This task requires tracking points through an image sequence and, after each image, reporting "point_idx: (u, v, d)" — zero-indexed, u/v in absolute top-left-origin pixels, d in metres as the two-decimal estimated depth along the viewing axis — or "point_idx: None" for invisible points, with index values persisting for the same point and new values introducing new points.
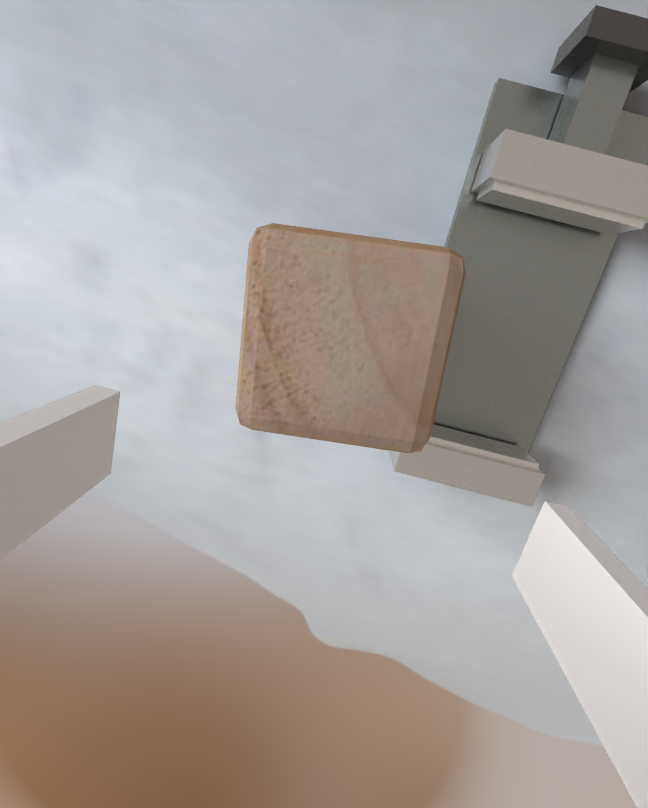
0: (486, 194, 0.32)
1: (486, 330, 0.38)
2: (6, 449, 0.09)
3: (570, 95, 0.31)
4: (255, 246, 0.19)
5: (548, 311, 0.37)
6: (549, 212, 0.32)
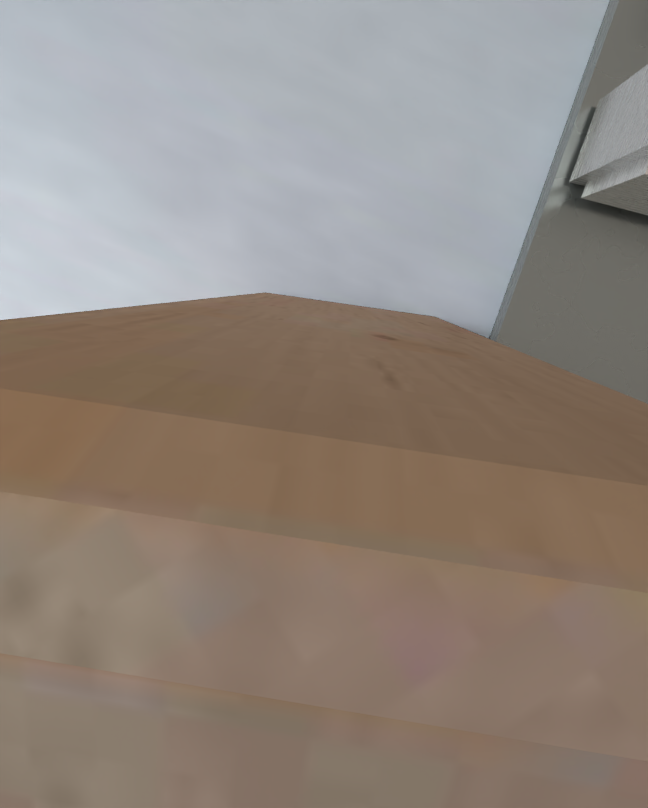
0: (617, 185, 0.15)
1: None
2: None
3: None
4: None
5: None
6: None
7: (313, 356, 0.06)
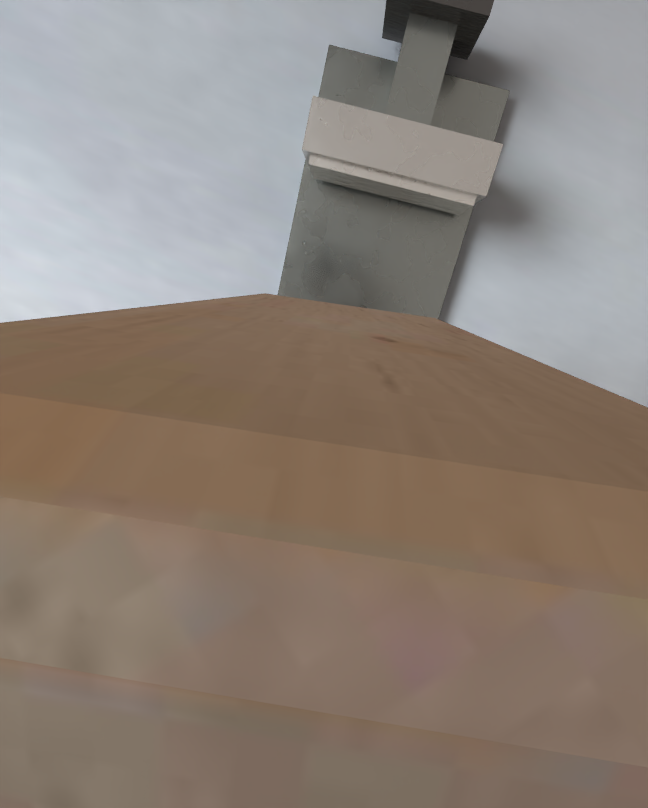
0: (312, 170, 0.29)
1: None
2: None
3: None
4: None
5: (404, 299, 0.34)
6: (383, 190, 0.30)
7: (312, 359, 0.06)
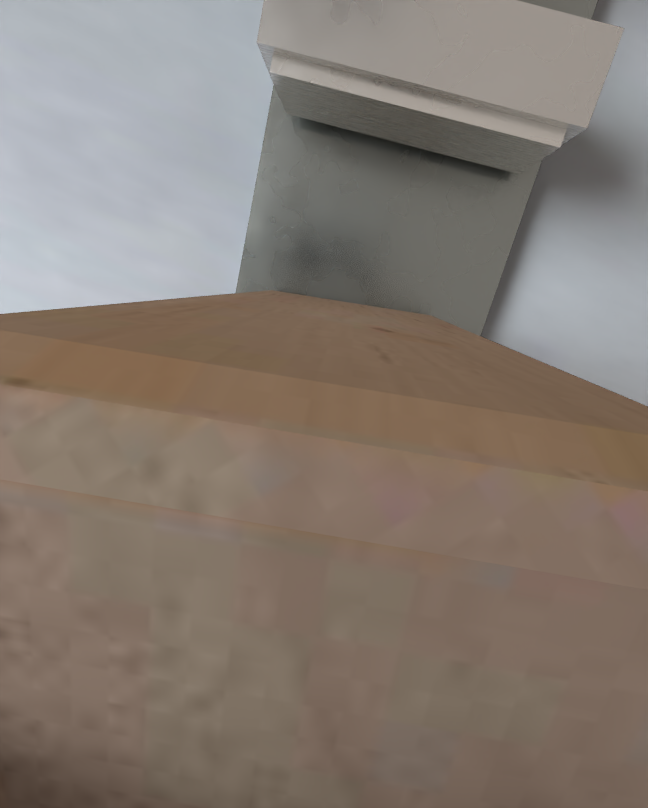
0: (280, 91, 0.17)
1: None
2: None
3: None
4: None
5: (427, 307, 0.22)
6: (399, 127, 0.18)
7: (324, 340, 0.07)
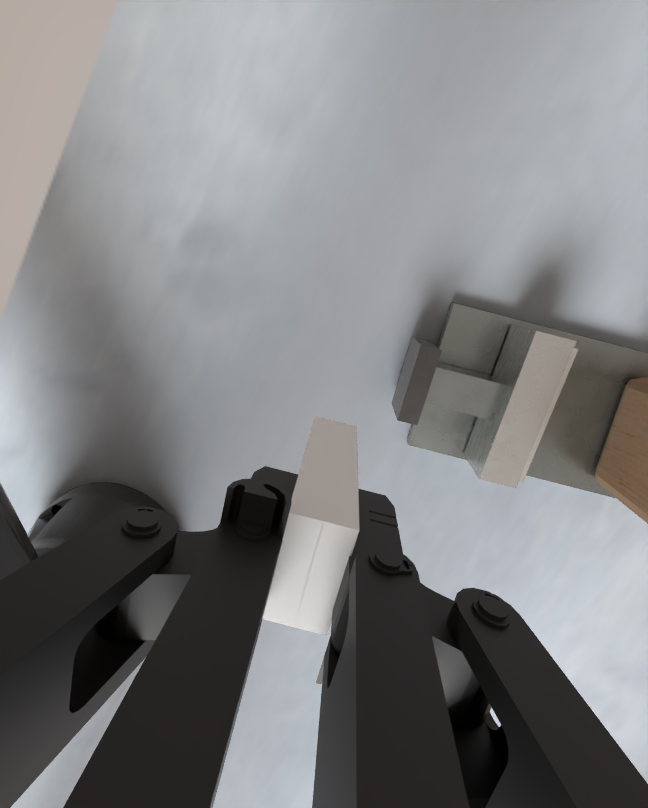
0: None
1: None
2: None
3: None
4: None
5: (616, 384, 0.37)
6: None
7: None
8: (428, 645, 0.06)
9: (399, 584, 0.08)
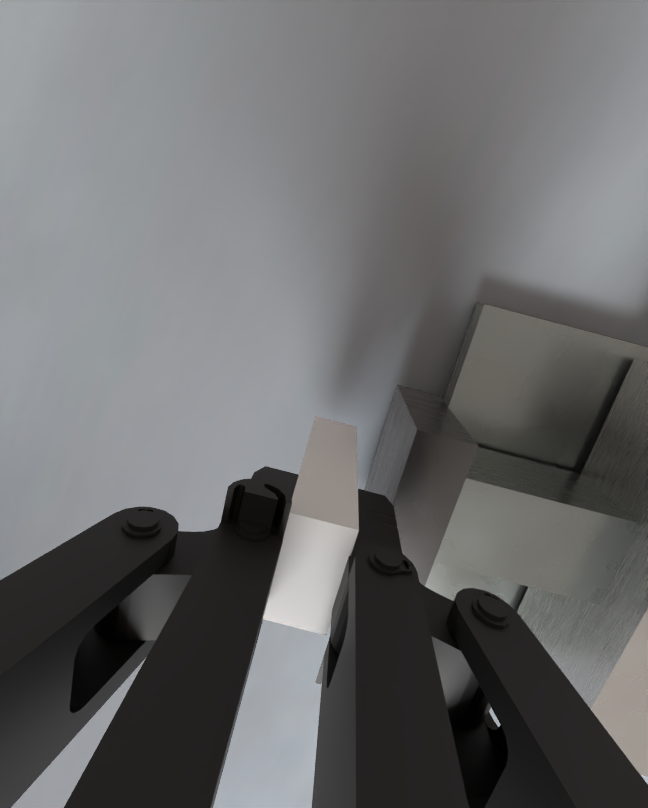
0: None
1: None
2: None
3: None
4: None
5: None
6: None
7: None
8: (428, 645, 0.06)
9: (399, 584, 0.08)
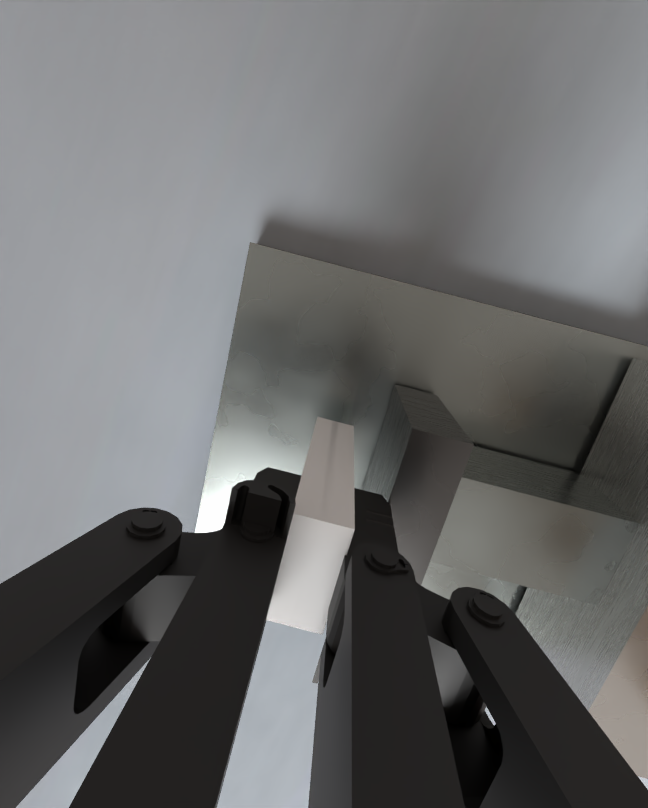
0: None
1: None
2: None
3: None
4: None
5: None
6: None
7: None
8: (424, 644, 0.06)
9: (395, 583, 0.08)
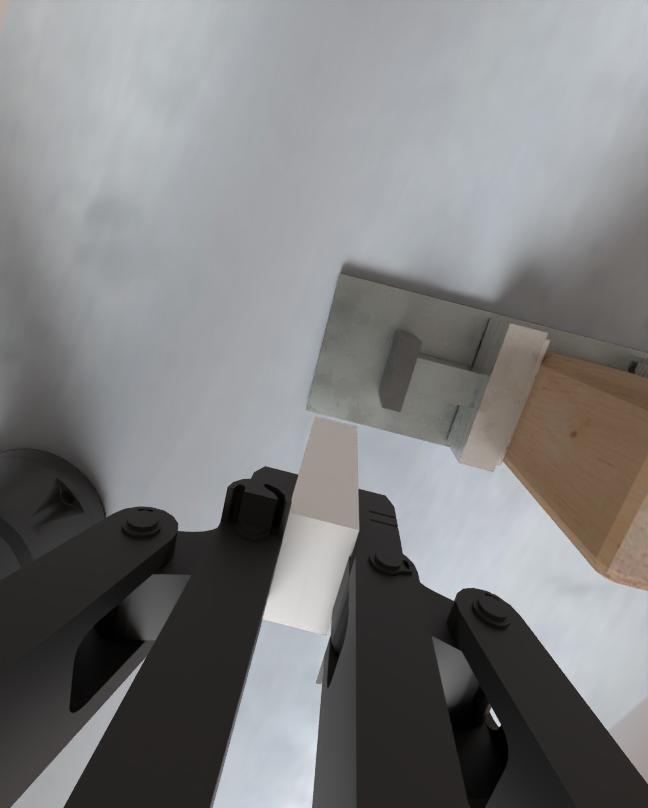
0: None
1: None
2: None
3: None
4: (621, 581, 0.22)
5: None
6: None
7: (595, 473, 0.24)
8: (428, 645, 0.06)
9: (399, 584, 0.08)
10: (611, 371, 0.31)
